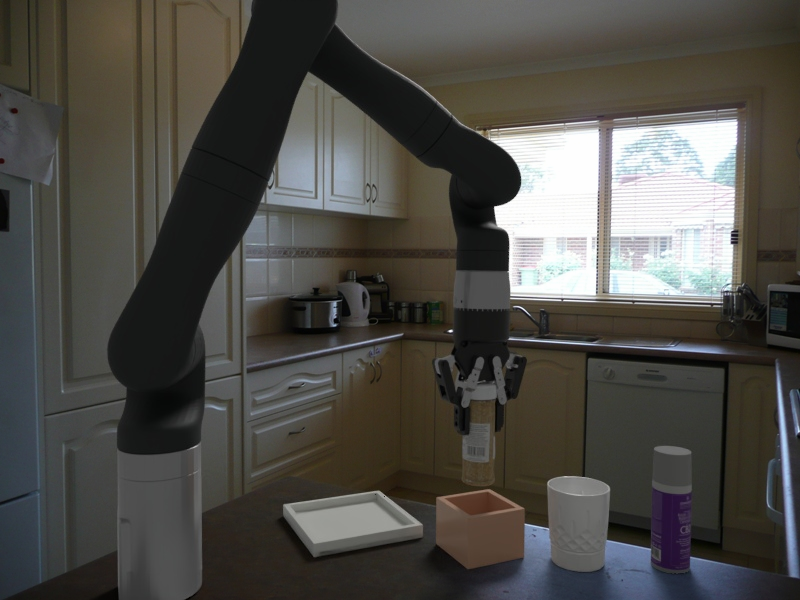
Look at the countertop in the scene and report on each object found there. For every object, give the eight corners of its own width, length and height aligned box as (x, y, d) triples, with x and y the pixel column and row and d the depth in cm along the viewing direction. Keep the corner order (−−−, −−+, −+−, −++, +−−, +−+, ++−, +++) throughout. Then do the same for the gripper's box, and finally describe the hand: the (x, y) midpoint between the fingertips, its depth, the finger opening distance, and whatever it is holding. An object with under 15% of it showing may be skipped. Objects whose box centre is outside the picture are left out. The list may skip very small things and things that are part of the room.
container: (686, 577, 80) (689, 457, 79) (646, 568, 83) (649, 451, 82) (692, 563, 84) (695, 449, 83) (654, 554, 86) (657, 443, 86)
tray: (314, 557, 85) (314, 543, 85) (283, 516, 100) (283, 504, 100) (422, 537, 92) (422, 524, 92) (379, 501, 106) (379, 490, 106)
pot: (467, 569, 82) (468, 518, 82) (436, 543, 90) (436, 497, 89) (524, 557, 85) (524, 508, 85) (488, 533, 93) (489, 489, 93)
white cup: (595, 581, 79) (597, 499, 79) (536, 563, 84) (537, 487, 83) (617, 558, 85) (618, 483, 85) (560, 543, 90) (561, 472, 90)
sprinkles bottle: (500, 481, 88) (502, 382, 87) (484, 490, 84) (487, 387, 84) (471, 474, 90) (473, 379, 90) (454, 483, 87) (456, 383, 86)
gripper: (448, 307, 80) (445, 444, 81) (542, 306, 86) (539, 434, 87) (421, 304, 87) (418, 430, 87) (510, 303, 93) (507, 422, 93)
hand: (478, 431), depth 87 cm, fingers closed on sprinkles bottle, 4 cm apart
